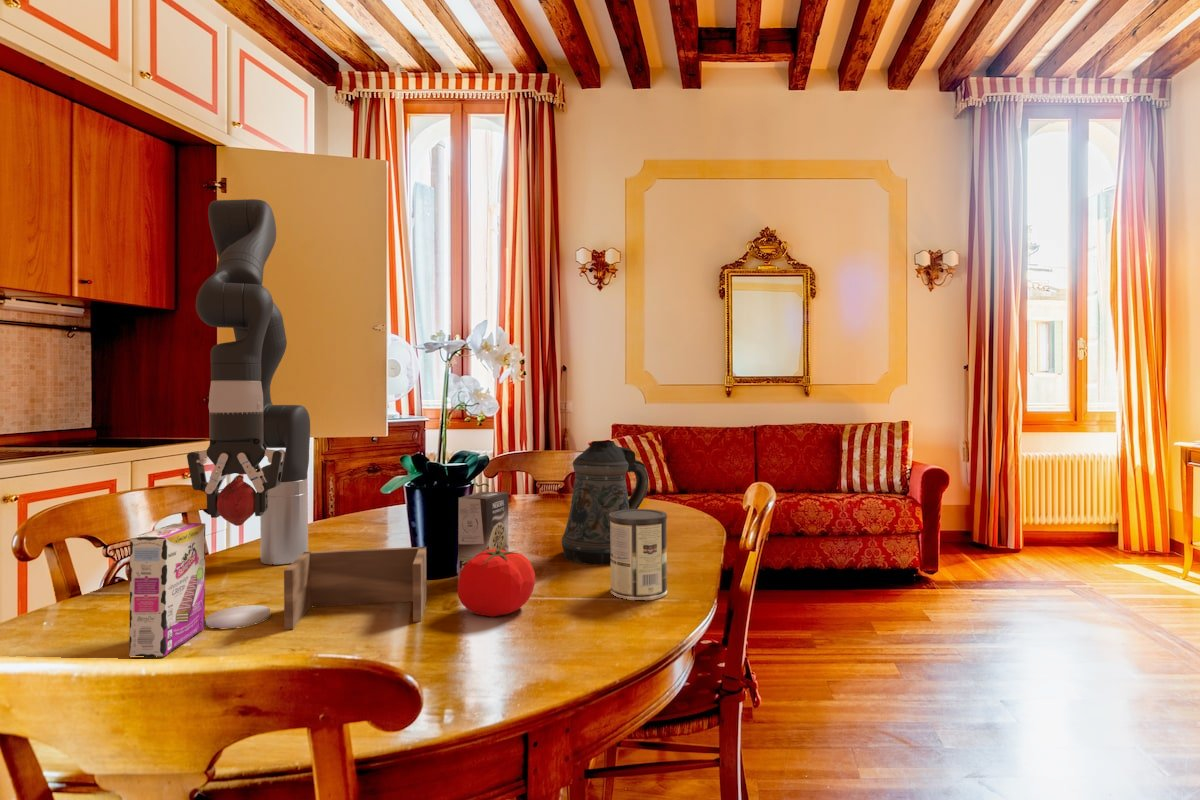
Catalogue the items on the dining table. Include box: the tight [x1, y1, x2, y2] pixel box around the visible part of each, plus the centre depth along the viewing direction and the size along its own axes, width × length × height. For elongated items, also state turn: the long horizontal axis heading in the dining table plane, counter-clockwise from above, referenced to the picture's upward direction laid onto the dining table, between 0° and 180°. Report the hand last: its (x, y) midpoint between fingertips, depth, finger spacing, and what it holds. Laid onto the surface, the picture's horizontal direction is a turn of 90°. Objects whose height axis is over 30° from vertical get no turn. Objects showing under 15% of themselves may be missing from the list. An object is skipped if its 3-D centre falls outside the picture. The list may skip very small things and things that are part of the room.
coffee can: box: [609, 508, 668, 601], centre depth 120 cm, size 10×10×14 cm
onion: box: [217, 474, 257, 527], centre depth 106 cm, size 6×6×8 cm
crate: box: [283, 546, 428, 631], centre depth 109 cm, size 12×20×9 cm, turn 100°
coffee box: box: [457, 491, 510, 582], centre depth 130 cm, size 9×6×16 cm
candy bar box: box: [128, 522, 207, 659], centre depth 96 cm, size 11×5×16 cm, turn 5°
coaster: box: [205, 604, 271, 629], centre depth 106 cm, size 9×9×1 cm
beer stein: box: [561, 440, 650, 565], centre depth 148 cm, size 16×19×25 cm
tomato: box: [457, 548, 536, 618], centre depth 110 cm, size 11×13×10 cm
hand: (237, 515), depth 106 cm, fingers closed on onion, 5 cm apart
